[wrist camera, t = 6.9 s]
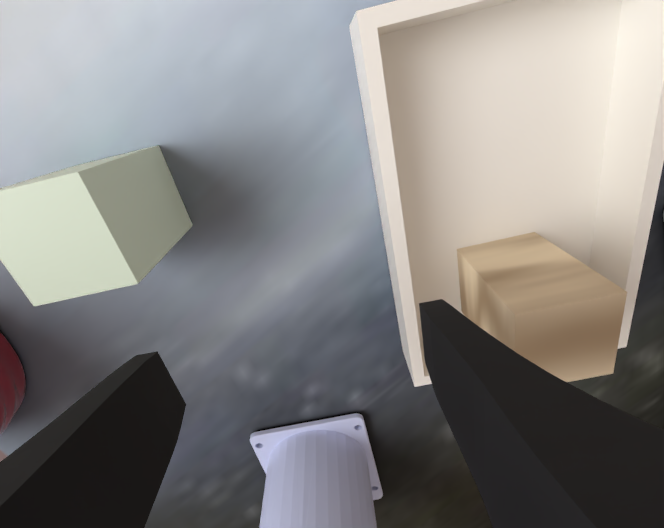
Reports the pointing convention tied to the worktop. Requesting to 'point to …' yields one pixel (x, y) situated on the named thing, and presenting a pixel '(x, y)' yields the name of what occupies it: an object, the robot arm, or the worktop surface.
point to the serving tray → (510, 136)
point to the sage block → (90, 226)
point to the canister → (10, 383)
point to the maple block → (543, 304)
